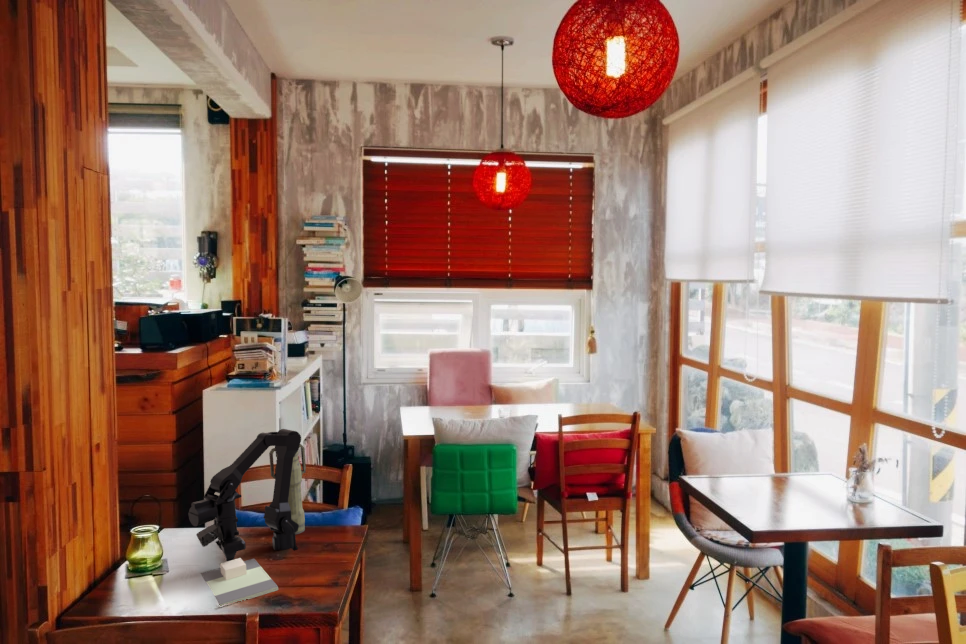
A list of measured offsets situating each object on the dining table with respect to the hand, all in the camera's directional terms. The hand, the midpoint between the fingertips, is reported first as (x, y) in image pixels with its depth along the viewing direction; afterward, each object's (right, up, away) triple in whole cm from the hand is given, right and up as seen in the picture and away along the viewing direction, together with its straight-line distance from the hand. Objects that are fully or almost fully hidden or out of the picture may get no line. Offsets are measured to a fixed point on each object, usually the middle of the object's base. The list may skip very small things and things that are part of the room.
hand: (229, 564), depth 208 cm
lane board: (+5, -3, -7) cm, 10 cm away
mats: (+5, -3, -7) cm, 10 cm away
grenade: (+11, +1, +31) cm, 33 cm away
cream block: (+3, -2, -3) cm, 4 cm away
